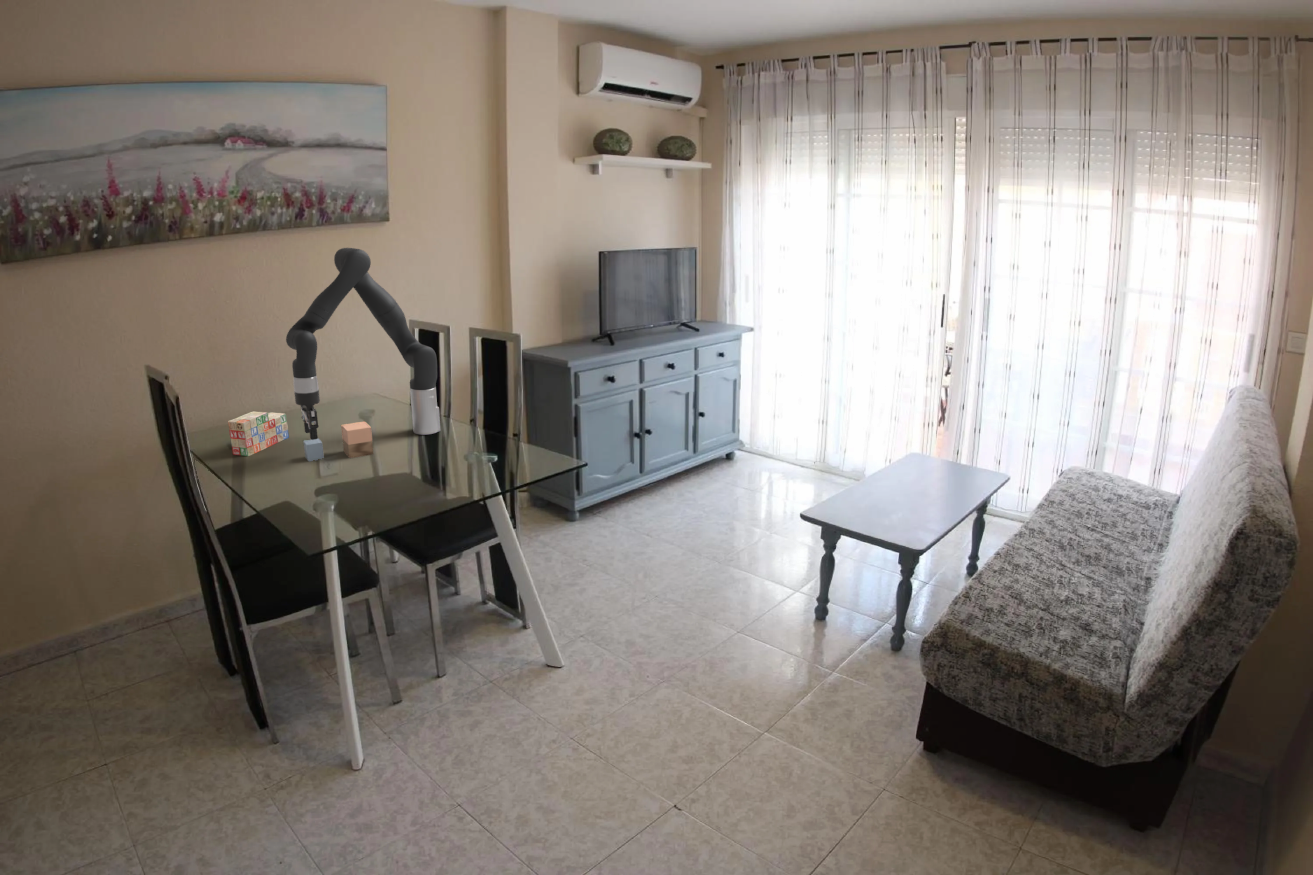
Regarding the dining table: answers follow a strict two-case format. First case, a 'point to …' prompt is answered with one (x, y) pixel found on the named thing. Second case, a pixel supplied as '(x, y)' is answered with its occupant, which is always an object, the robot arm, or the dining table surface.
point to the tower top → (356, 433)
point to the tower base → (358, 449)
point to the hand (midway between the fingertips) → (311, 435)
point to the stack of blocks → (257, 432)
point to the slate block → (313, 449)
